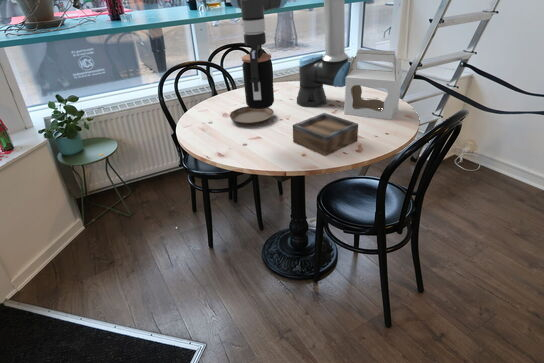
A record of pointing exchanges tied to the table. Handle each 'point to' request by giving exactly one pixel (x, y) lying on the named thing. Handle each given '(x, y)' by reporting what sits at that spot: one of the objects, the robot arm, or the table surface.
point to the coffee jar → (264, 79)
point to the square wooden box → (325, 133)
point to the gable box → (373, 85)
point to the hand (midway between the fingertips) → (259, 94)
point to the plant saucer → (251, 116)
